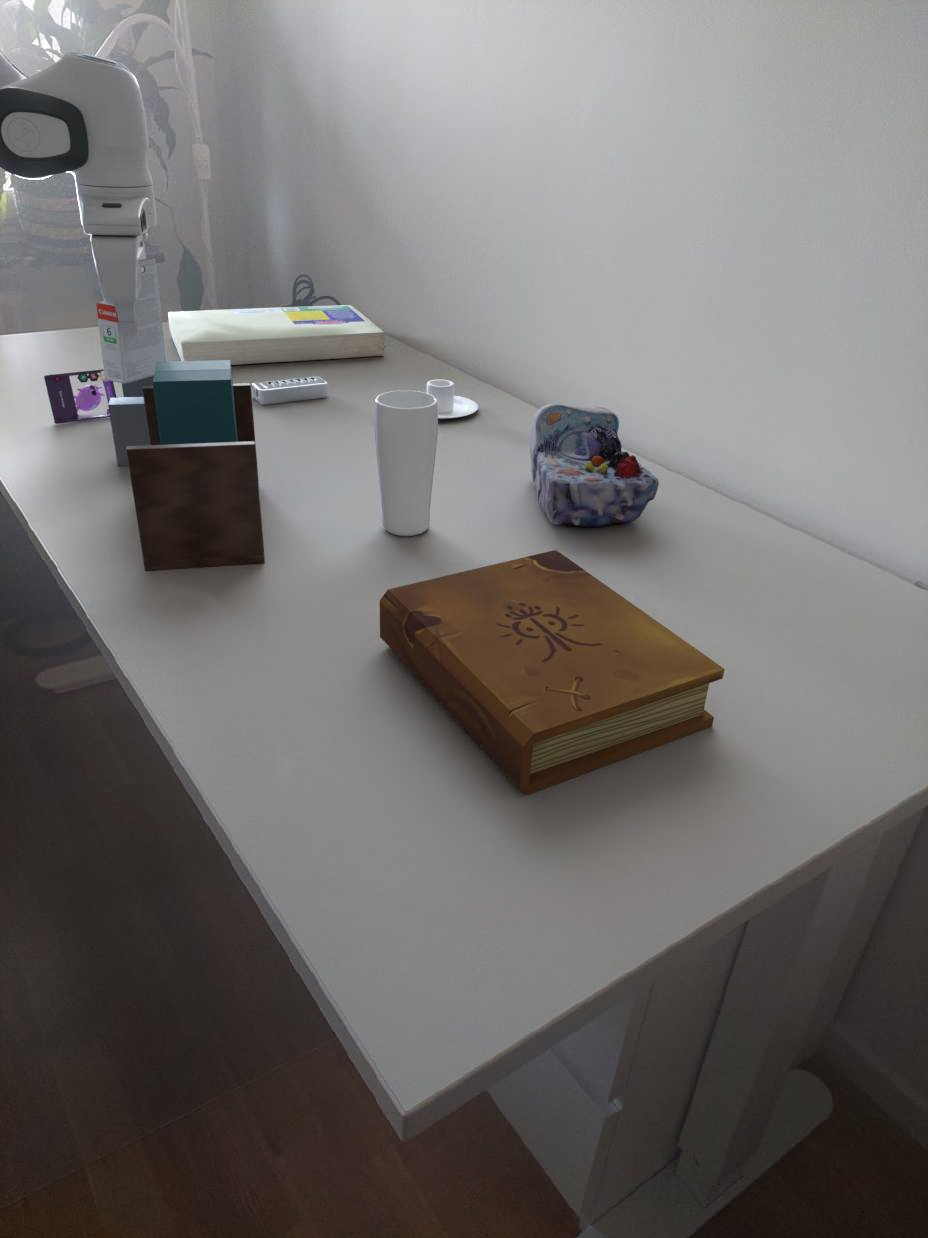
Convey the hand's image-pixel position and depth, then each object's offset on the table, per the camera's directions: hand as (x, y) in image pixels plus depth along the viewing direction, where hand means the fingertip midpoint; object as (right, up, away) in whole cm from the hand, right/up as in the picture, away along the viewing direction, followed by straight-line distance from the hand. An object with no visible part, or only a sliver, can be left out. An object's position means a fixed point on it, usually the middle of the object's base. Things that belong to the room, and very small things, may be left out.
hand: (132, 326), depth 120 cm
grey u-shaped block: (0, -13, +8) cm, 15 cm away
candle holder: (+39, -6, +24) cm, 46 cm away
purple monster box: (-13, -8, +16) cm, 22 cm away
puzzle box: (+8, +13, +54) cm, 56 cm away
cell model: (+57, -24, -6) cm, 62 cm away
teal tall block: (+13, -24, -11) cm, 29 cm away
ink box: (-1, -6, +3) cm, 7 cm away
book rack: (+14, -27, -15) cm, 34 cm away
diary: (+49, -44, -40) cm, 77 cm away
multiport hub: (+15, -3, +27) cm, 31 cm away
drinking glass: (+36, -28, -14) cm, 47 cm away
